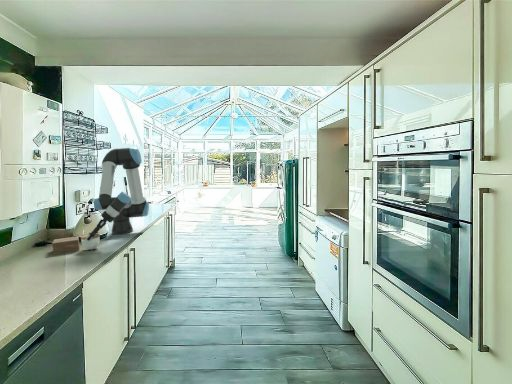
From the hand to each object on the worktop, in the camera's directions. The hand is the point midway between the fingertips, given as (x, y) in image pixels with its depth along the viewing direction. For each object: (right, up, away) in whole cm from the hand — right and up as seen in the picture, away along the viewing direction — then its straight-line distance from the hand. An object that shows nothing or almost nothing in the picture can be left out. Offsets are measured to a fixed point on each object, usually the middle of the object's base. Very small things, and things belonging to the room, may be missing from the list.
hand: (85, 242), depth 241 cm
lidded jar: (+3, -4, +1) cm, 5 cm away
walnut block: (-13, -6, +3) cm, 15 cm away
